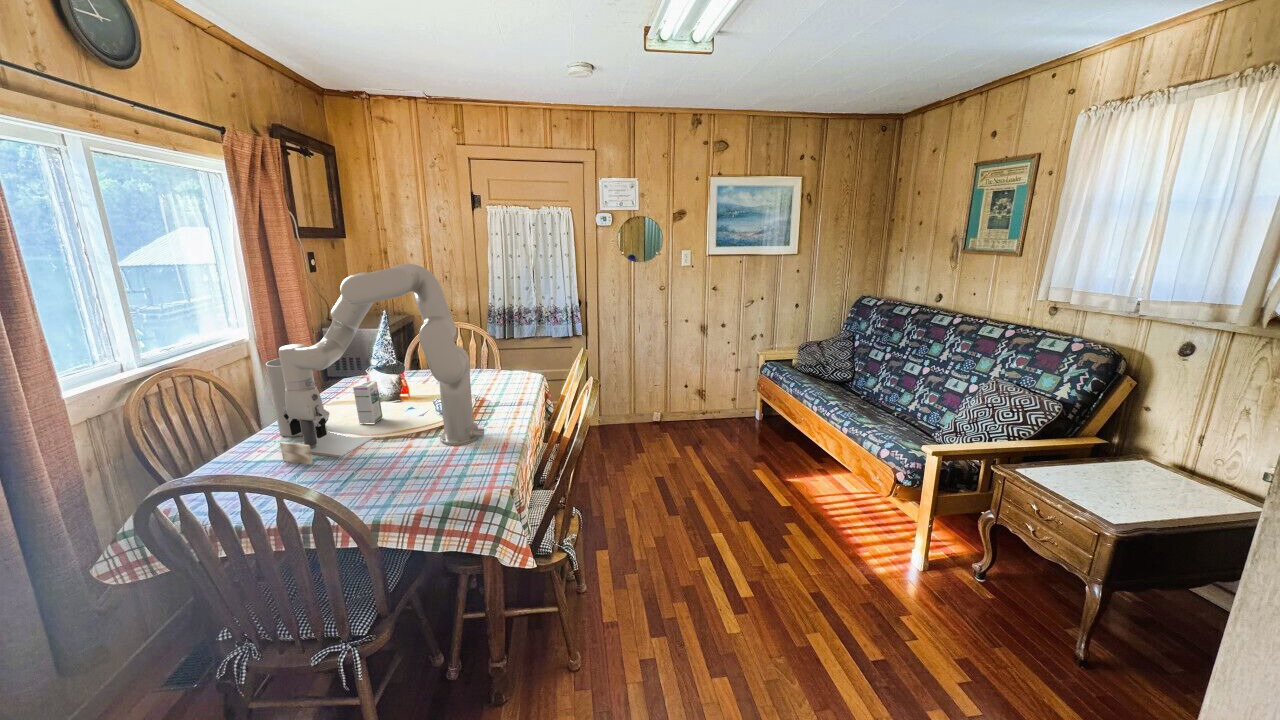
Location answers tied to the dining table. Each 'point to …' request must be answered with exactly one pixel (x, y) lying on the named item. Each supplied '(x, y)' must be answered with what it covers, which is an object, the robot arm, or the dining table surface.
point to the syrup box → (367, 402)
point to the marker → (309, 433)
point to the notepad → (336, 445)
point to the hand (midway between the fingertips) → (309, 435)
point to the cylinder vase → (280, 396)
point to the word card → (296, 453)
